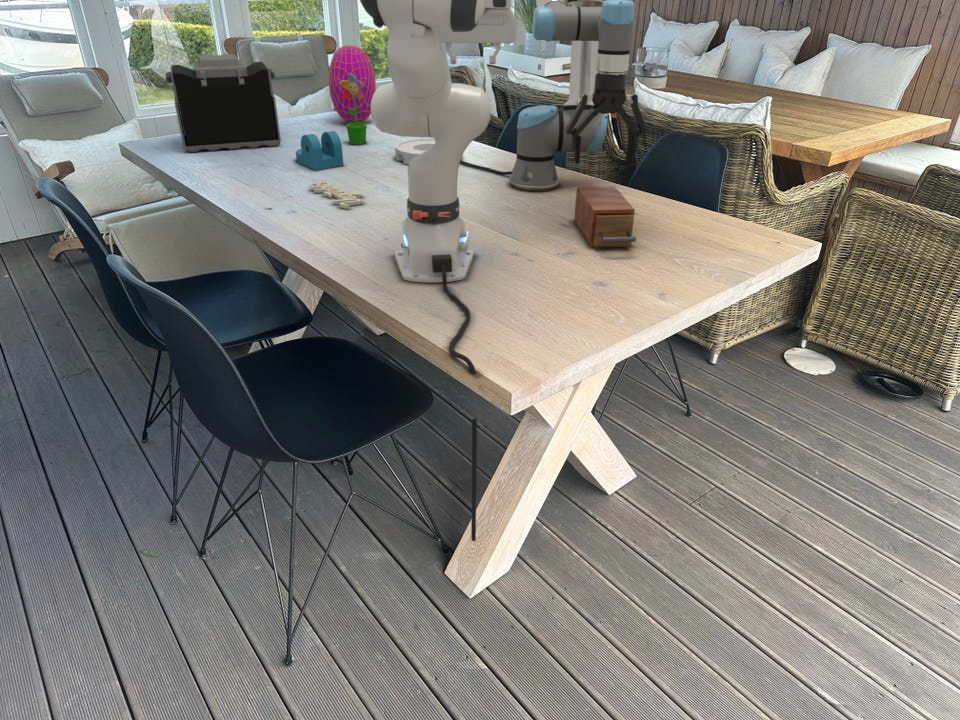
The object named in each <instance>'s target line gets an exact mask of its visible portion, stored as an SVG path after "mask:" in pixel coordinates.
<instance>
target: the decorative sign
mask: <svg viewBox="0 0 960 720" xmlns="http://www.w3.org/2000/svg"><path fill="white" fill-rule="evenodd" d="M310 191H313V192H314V193H316V194H321V193H323V197H328V198H329V199H332V198H335V199H333V200H332V203H333V205H339V208H341V209H346V210H347V209H348V210H349V209H350V207H351V206H358V205H361V204H363V202H362V199H361V198H362V197H363V195H362V194H363V193H362V192H348V191H344V190H343V189H342V188H339V187H337V186H336V185H333V184H332V183H330V182H327V181H326V180H320V181H318V182H316V181H315V182H312V185H311V186H310Z"/></svg>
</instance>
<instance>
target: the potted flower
mask: <svg viewBox="0 0 960 720" xmlns="http://www.w3.org/2000/svg"><path fill="white" fill-rule="evenodd" d="M348 78H349V81H346V80H342V81H341V82H340V83H339V84H340V85H341V86H342V87H343V88H346V89H347V90H345V91H344V93H343V94H342V97H341V99H348V98H350V97H351V96H352V95H353V100H354V110H349V111H348V112H349V114H351V115H355V123H349V122H348V123H347V124H346V125H345V128H346V131H347V136H348V141H349V144H352V145H363V144H366V143H367V129H368V124H367V123H366V122H365V123H364V122H361V123H357V116H356V110H358V109H359V106H356V103H355V95H356V97H357V98H358V99H359V100H362V98H363V93H362V92H361V91H360V90H361V89H363V84H362V82H361V81H358V82H357V83H356V78H355V76H354V75H352V74H350V73H348Z"/></svg>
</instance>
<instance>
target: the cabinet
mask: <svg viewBox="0 0 960 720" xmlns="http://www.w3.org/2000/svg"><path fill="white" fill-rule="evenodd" d="M635 211H636V209H635V208H634V207H633V205H631V203H630V202H629V201H628V200H627V199H626V198H625V197H624V195H623V194H622V193H621V192H620V191H619V190H618V188H617V187H616V186H615V185H600V186H598V185H597V186H596V185H595V186H593V185H592V186H576V192H575V205H574V216H573V223H574V224H575V226H576V227H577V229H578V231H579V232H580V234H581V235H582V237H583V239H584V240H585V242H586V244H587V245H588V247H589V248H626V247H627V248H630V247H631V245H630V246H596V247H595V246H594V235H595V225H596V216H597V214H627V215H634V216H635Z"/></svg>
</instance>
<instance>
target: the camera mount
mask: <svg viewBox="0 0 960 720" xmlns="http://www.w3.org/2000/svg"><path fill="white" fill-rule="evenodd" d="M343 155H344V154H343V145H342V140H341V137H340V136H339V134H338V133H337V131H334V130H330V131H324V132H322V133H321V137H320V139H319V137H318V136H317V134H314V133H310V134H309V133H308V134H304V135H302V136H301V137H300V148H298V149H296V151H295V157H296V162H297V163H299V164H301V165H303V166H305V167H308V168H309V169H312V170H314V171H319V170H324V169H330V168H336V167H342V166H344V156H343Z"/></svg>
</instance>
